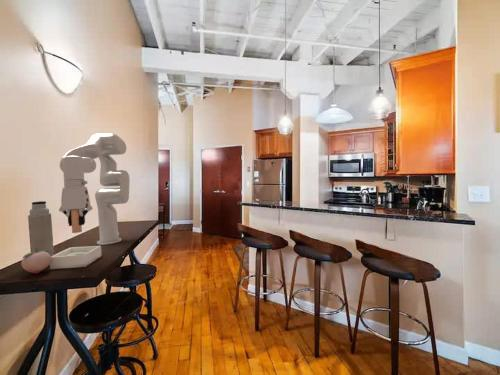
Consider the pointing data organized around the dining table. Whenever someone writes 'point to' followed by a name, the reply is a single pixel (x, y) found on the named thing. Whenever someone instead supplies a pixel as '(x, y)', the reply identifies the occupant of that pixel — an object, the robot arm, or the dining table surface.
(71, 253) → the tub
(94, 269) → the dining table surface
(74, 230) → the peg
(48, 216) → the thermos bottle
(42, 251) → the decorative fruit
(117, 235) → the robot arm
